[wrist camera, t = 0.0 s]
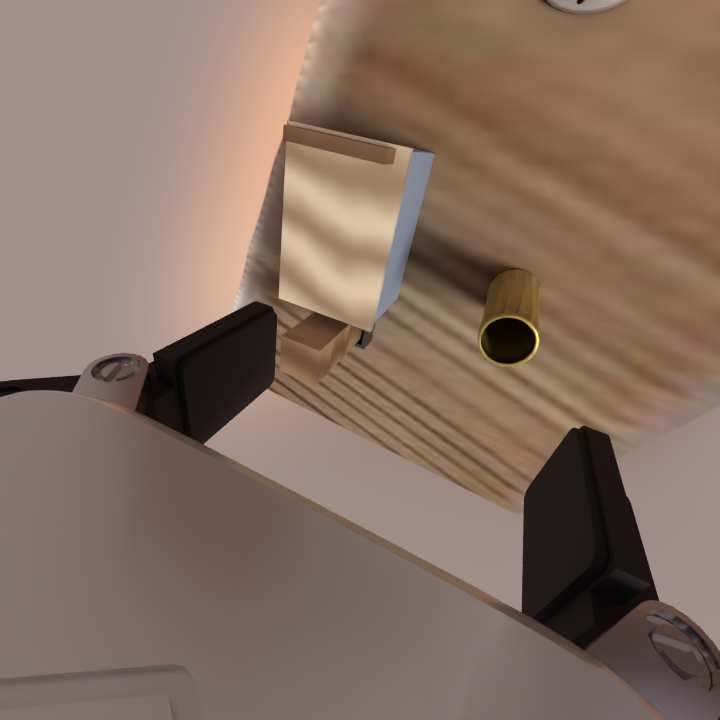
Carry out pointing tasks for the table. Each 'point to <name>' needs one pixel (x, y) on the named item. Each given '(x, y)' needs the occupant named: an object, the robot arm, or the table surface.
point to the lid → (339, 220)
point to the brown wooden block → (316, 346)
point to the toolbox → (405, 227)
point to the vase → (511, 319)
